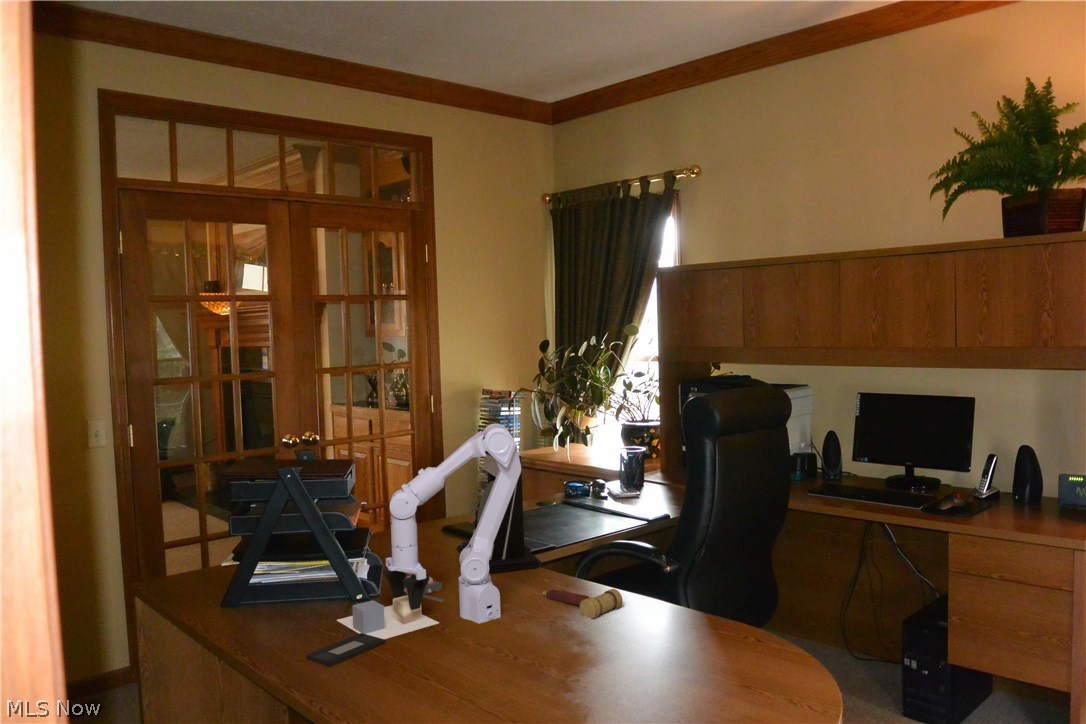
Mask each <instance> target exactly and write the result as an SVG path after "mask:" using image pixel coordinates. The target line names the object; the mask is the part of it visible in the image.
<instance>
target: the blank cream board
mask: <svg viewBox="0 0 1086 724" xmlns="http://www.w3.org/2000/svg"><path fill="white" fill-rule="evenodd" d="M384 620H385V629H381V630H377V631H374V632H370V633H367V635H370V636H374V637H378V638H381V639H385V640H387V639H390V638H393V637H396V636H400V635H404V634H407V633H410V632H414V631H417V630H420V629H424V628H427V627H430V626H435V625H438V624H440V622H439V621H437V620H434V619H433V618H430V617H428V616H427V615H424V614H422V619H421V620H418V621H414V622H411V623H407V624H402V623H400V622H398V621H396V620H394V619H393V604H391V605H388V606H384ZM336 621H337V622H338V623H340V624H341V625H344V626H345V627H347V628H349V629H351V630H353V631H354V632H356V633H357V634H360V633H361V632H359V631H357V630H356V629H354V628H353V615H350V616H347V617H343V618H338V619H336Z"/></svg>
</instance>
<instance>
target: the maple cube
mask: <svg viewBox="0 0 1086 724" xmlns="http://www.w3.org/2000/svg"><path fill="white" fill-rule="evenodd" d="M392 605H393V619H394V620H396V621H398V622H400V623H402V624H407V623H411V622H414V621H418V620H421V619H422V615H423V613H422V605H421V606H420V608H418V609H414V610H411V609H410V605H409V598H408V594H406V595H404V596H402V597H398V598H394V599H393V598H392Z"/></svg>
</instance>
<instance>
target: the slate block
mask: <svg viewBox="0 0 1086 724" xmlns="http://www.w3.org/2000/svg"><path fill="white" fill-rule="evenodd" d="M351 606H352V616H353V628H354V629H356V630H357V631H359V632H361V633H363V634H367V633H370V632H374V631H377V630H381V629H385V620H384V607H385V605H384V604H381V603H379V602H377V601H376V600H369V601H364V602H361V603H358V604H353V605H351Z"/></svg>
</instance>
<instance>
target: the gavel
mask: <svg viewBox="0 0 1086 724" xmlns="http://www.w3.org/2000/svg"><path fill="white" fill-rule="evenodd" d="M542 596H545V597H546V598H548V599H549V600H550V601H551V600H552V601H556V602H560V603H565V604H568V603H569V605H575V606H579V611H580V614H581V616H582V617H583V616H585V617H588V618H591V619H590V620H593V618H594V619H597V618H598V617H599V616H600V615H602V614H605V613H607V612H609V611H612V610H613V611H616V610H618V609H621V608H622V605H623V602H624V601H623V596H622V594H621V592H620V591H619V590H618V589H616V588H610V589H607V590H606V591H604V592H603V593H602V594H599V595H597V596H594V597H591V596H589V595H585V594H581V593H575V592H569V591H564V590H557V589H549V590H546V591H545V590H544V591H542ZM596 617H597V618H596ZM588 618H587V619H588Z"/></svg>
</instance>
